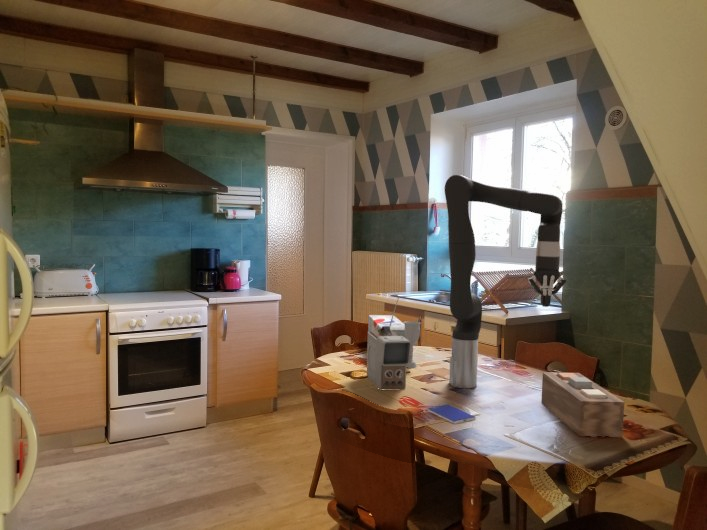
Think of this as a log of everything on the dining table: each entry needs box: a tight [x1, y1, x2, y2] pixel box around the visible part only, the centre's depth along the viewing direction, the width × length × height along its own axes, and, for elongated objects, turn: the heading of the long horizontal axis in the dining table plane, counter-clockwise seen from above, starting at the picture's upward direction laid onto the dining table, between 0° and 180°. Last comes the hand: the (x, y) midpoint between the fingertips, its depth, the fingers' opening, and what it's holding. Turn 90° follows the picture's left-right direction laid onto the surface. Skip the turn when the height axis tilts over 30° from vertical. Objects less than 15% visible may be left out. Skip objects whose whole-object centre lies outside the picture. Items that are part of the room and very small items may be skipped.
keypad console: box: [540, 371, 625, 438], centre depth 170 cm, size 12×30×10 cm, turn 1°
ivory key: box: [581, 389, 606, 398], centre depth 161 cm, size 5×5×5 cm
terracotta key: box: [557, 372, 578, 380], centre depth 179 cm, size 5×5×5 cm
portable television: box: [366, 297, 412, 390], centre depth 202 cm, size 12×24×30 cm, turn 12°
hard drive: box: [427, 403, 476, 425], centre depth 171 cm, size 2×8×12 cm
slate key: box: [569, 376, 593, 389], centre depth 170 cm, size 5×5×5 cm
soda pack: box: [367, 314, 405, 338], centre depth 255 cm, size 41×13×14 cm, turn 7°
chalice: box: [403, 320, 422, 369], centre depth 227 cm, size 7×7×18 cm
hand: (545, 306), depth 189 cm, fingers closed
